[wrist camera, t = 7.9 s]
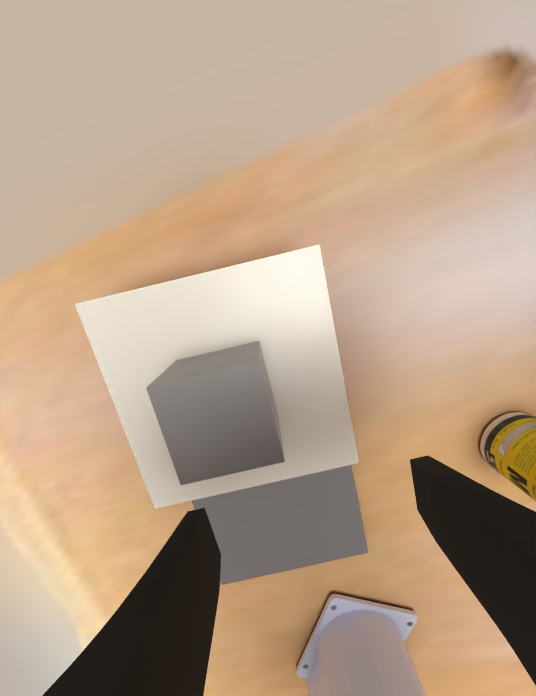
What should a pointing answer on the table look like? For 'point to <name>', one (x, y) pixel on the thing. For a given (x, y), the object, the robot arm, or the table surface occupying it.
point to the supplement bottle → (513, 449)
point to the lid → (226, 376)
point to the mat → (286, 524)
